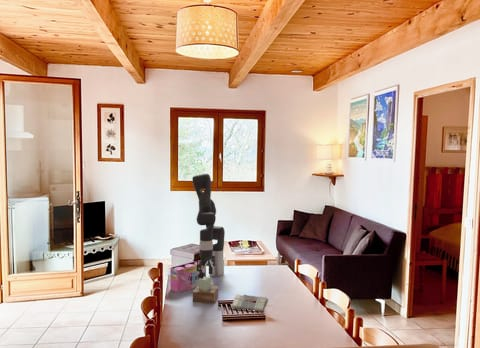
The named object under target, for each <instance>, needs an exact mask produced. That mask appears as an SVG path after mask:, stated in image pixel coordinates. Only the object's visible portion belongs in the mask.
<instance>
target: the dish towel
mask: <svg viewBox="0 0 480 348" xmlns="http://www.w3.org/2000/svg"><path fill="white" fill-rule="evenodd" d="M246 300H256V303H253V302H250V301H248V302H246ZM268 300H269V299H268V298H267V297H264V296H257V295H256V296H255V295H247V294H243V295H241V294H236V295H235V297H234V300H233V302H232V303H231V306H230V309H231V308H237V309H248V310H255V311H261V312H260V313H264V311H265V309H266V306H267V303H268Z"/></svg>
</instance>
